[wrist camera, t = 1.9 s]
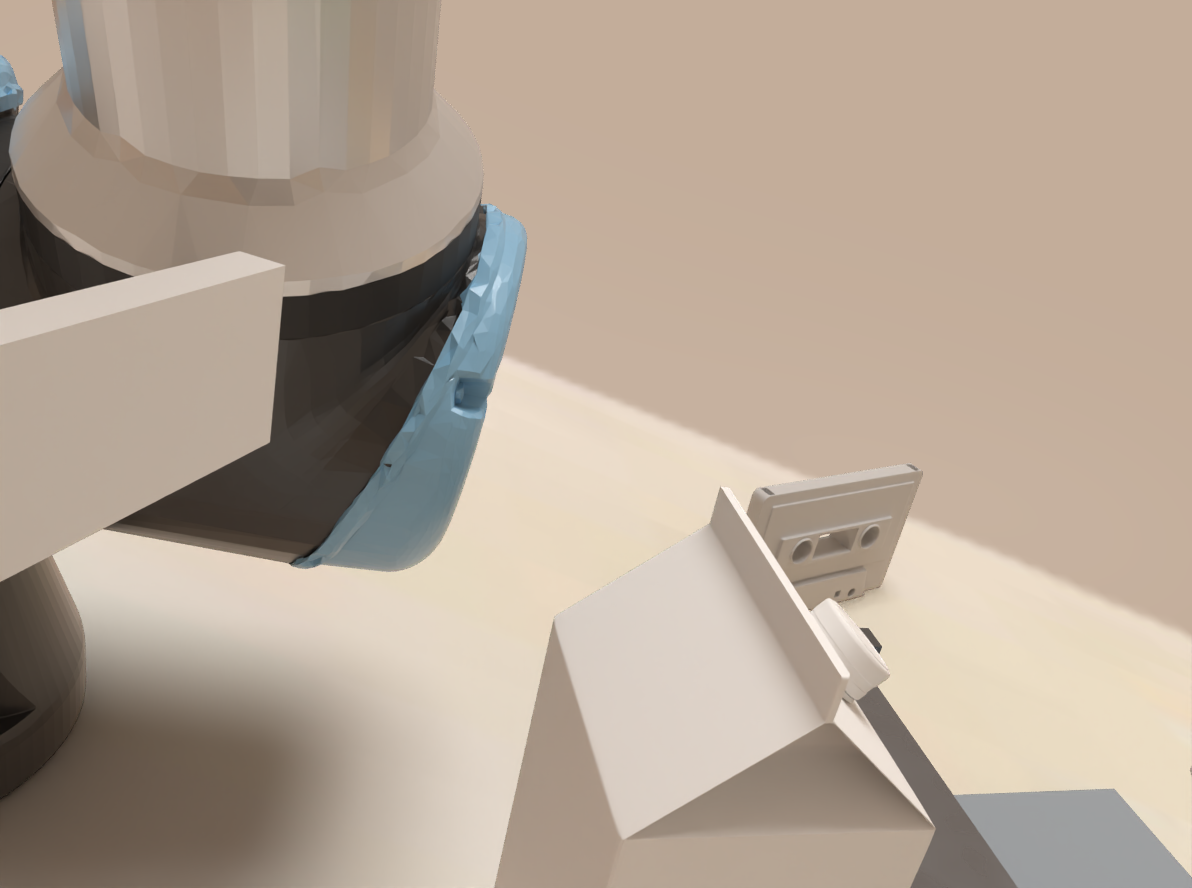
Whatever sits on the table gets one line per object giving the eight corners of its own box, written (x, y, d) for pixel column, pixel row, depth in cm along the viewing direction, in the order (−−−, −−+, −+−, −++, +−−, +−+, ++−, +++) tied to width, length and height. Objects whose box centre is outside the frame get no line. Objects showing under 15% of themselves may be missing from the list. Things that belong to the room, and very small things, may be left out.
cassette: (731, 633, 55) (771, 502, 51) (708, 611, 56) (746, 483, 53) (888, 591, 61) (933, 474, 58) (864, 573, 63) (907, 458, 59)
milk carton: (496, 1271, 27) (667, 675, 19) (464, 1012, 33) (582, 475, 25) (756, 1234, 29) (1009, 679, 21) (680, 995, 35) (854, 494, 27)
